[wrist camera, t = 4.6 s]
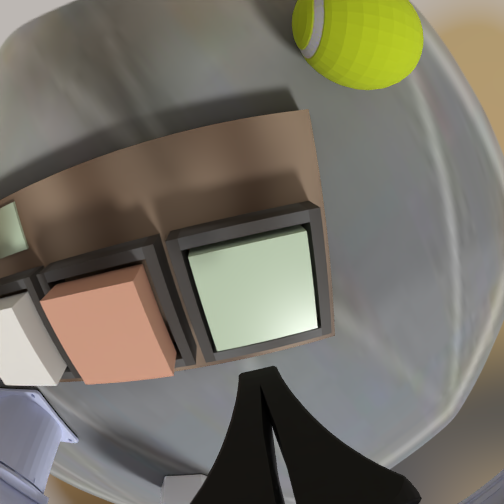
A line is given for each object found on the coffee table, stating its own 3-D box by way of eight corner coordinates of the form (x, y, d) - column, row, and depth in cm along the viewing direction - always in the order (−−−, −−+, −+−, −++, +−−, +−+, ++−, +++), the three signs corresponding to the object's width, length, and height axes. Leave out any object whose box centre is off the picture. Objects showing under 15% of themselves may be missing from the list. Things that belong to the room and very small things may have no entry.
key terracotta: (95, 363, 16) (86, 384, 14) (55, 284, 14) (39, 301, 12) (176, 352, 16) (173, 375, 14) (142, 263, 14) (132, 281, 12)
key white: (16, 368, 15) (5, 385, 13) (-20, 303, 13) (-35, 317, 11) (67, 365, 15) (57, 385, 14) (28, 291, 13) (11, 307, 12)
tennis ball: (277, -4, 12) (308, -64, 6) (376, 15, 13) (436, -21, 7) (280, 93, 15) (322, 61, 8) (384, 104, 15) (458, 94, 9)
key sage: (216, 330, 17) (217, 351, 15) (191, 243, 15) (187, 257, 13) (307, 309, 18) (317, 327, 16) (295, 220, 16) (306, 230, 14)
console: (34, 371, 19) (20, 396, 16) (-34, 221, 14) (-61, 234, 11) (327, 323, 20) (344, 351, 17) (300, 112, 15) (320, 104, 12)
